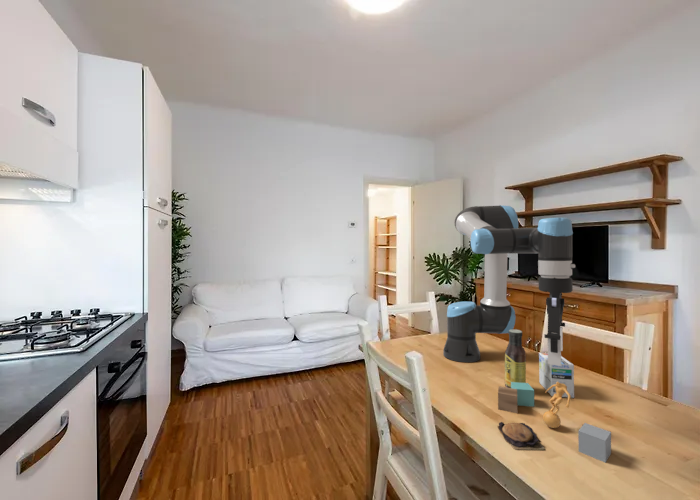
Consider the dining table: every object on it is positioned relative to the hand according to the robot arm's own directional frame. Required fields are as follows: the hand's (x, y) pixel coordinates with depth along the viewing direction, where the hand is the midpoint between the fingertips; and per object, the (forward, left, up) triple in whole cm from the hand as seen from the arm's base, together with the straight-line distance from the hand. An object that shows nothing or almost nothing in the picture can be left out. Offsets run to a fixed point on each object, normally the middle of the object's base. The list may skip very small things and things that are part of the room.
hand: (555, 356), depth 83 cm
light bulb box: (-25, -1, -19) cm, 31 cm away
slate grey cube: (+7, +8, -19) cm, 22 cm away
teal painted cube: (-10, -9, -19) cm, 23 cm away
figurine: (0, 0, -19) cm, 19 cm away
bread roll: (+10, -7, -19) cm, 23 cm away
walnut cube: (-4, -12, -19) cm, 23 cm away
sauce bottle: (-18, -12, -19) cm, 29 cm away
